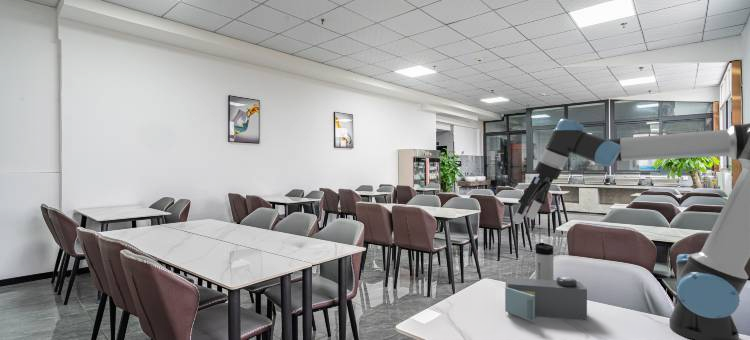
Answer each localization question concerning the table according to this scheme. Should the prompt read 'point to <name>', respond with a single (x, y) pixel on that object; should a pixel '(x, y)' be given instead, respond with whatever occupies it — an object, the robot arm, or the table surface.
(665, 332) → the table surface
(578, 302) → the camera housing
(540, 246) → the travel mug
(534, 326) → the table surface
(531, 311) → the side door
